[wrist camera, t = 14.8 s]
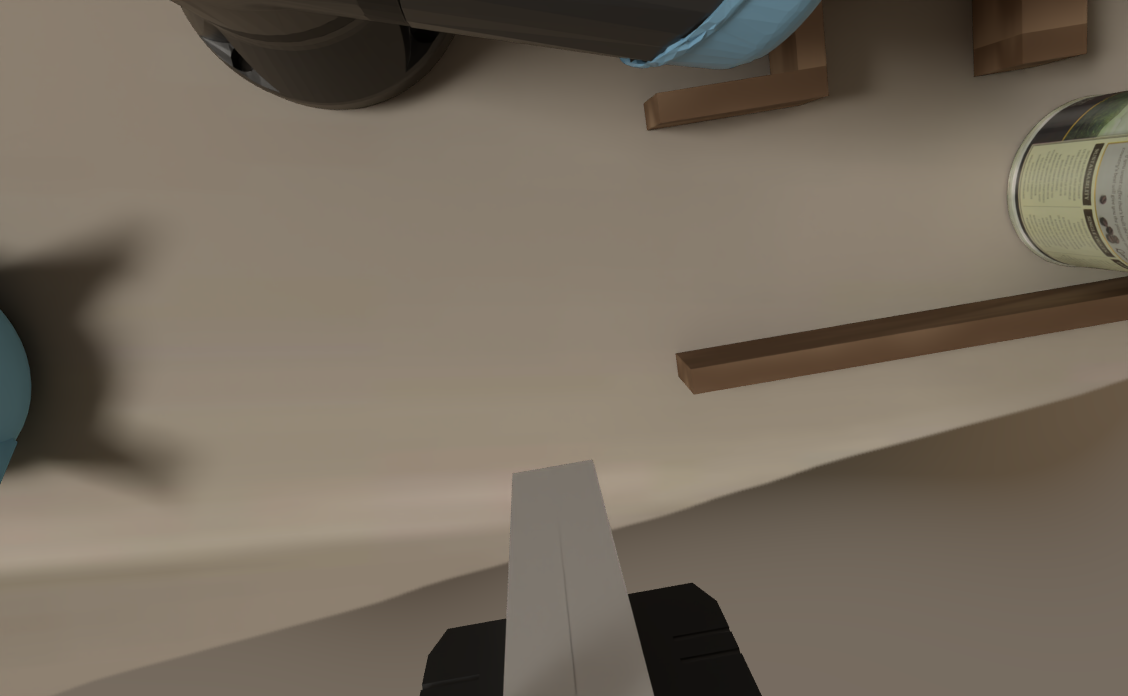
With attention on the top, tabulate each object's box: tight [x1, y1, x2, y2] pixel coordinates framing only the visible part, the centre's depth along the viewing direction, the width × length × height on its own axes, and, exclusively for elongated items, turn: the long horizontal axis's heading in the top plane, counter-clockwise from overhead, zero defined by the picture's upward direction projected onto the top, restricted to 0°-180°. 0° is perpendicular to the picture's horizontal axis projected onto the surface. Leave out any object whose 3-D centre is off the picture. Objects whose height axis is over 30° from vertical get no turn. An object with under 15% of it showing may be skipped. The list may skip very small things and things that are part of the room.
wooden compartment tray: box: [644, 0, 1128, 394], centre depth 38 cm, size 23×36×5 cm, turn 99°
